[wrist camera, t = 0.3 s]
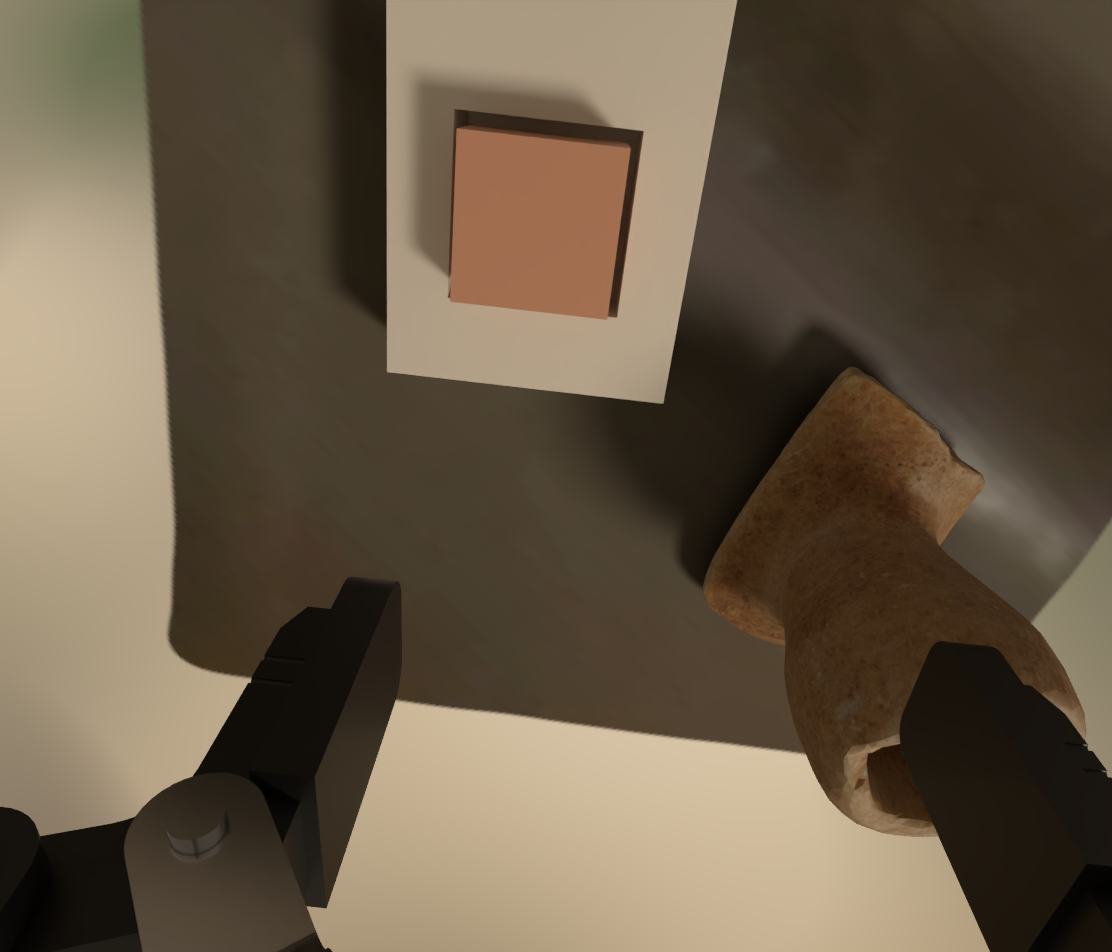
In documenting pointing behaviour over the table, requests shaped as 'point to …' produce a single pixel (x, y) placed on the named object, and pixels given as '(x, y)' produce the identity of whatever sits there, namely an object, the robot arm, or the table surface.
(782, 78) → the table surface
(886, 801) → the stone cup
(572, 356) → the key console
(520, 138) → the terracotta key
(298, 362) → the table surface
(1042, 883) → the robot arm
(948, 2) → the table surface
